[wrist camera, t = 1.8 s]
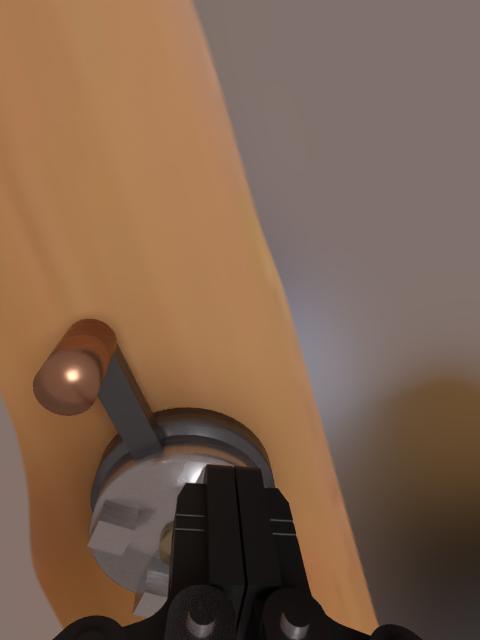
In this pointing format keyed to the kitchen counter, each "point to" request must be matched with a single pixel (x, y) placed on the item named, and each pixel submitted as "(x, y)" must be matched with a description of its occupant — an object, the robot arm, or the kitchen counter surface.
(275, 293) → the kitchen counter surface
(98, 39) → the kitchen counter surface
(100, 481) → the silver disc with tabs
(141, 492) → the crank handle
